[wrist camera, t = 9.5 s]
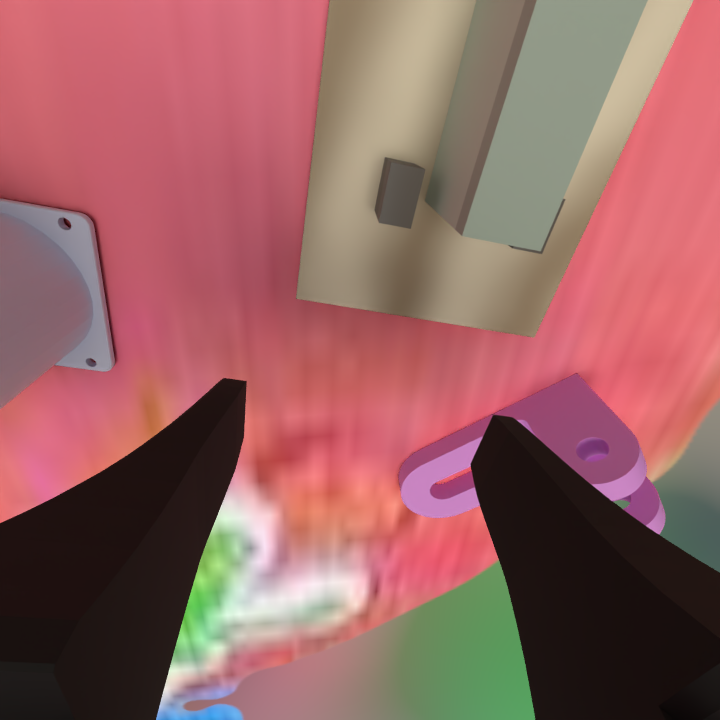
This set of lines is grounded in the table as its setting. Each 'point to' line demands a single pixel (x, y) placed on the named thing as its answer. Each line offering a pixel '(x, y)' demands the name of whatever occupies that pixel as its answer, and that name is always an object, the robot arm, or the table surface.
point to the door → (525, 112)
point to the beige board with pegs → (415, 165)
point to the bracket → (559, 433)
